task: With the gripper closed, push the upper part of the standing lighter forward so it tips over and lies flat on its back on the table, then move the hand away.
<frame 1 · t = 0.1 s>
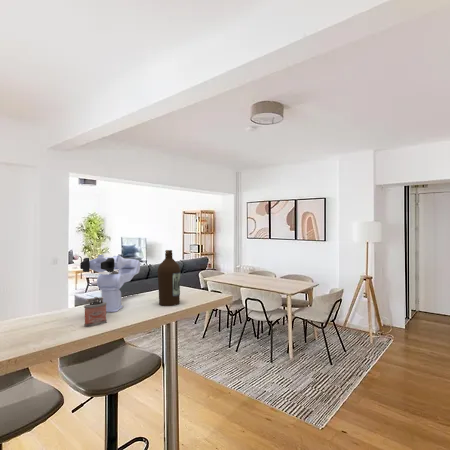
hand: (91, 265, 120), 22 cm above the table, tool horizontal, fingers open, 7 cm apart
olive oil: (169, 304, 148), on the table
lighter: (95, 324, 118), on the table
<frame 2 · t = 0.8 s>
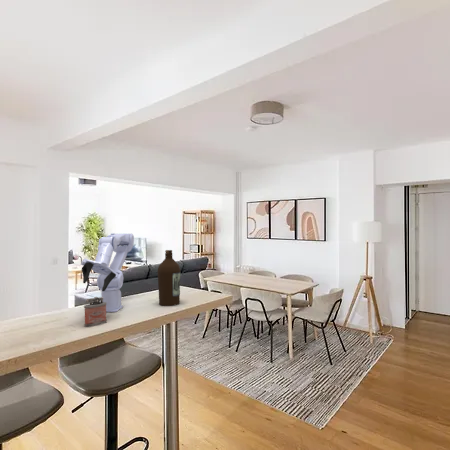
hand: (94, 285, 119), 14 cm above the table, tool tilted 50°, fingers open, 7 cm apart
nothing on the table moved.
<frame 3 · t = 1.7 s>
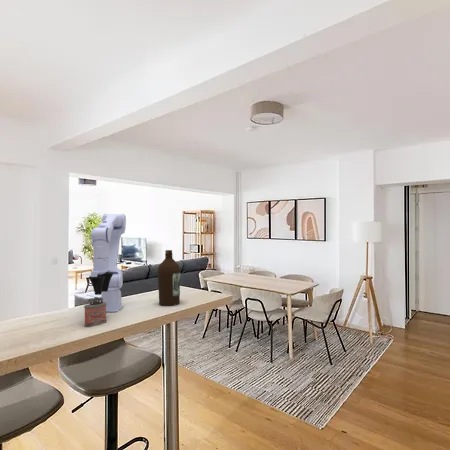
hand: (101, 293, 124), 10 cm above the table, tool pointing down, fingers open, 6 cm apart
nothing on the table moved.
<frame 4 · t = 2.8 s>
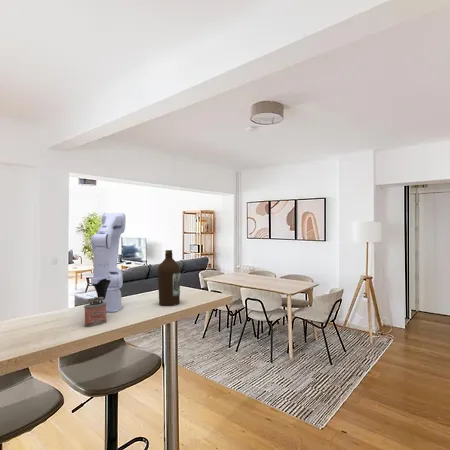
hand: (101, 299, 124), 8 cm above the table, tool pointing down, fingers closed
nothing on the table moved.
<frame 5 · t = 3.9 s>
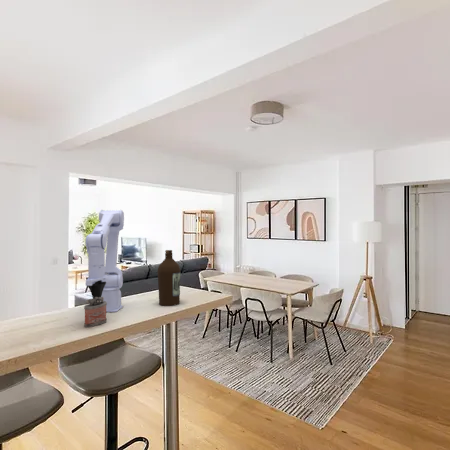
hand: (97, 301, 119), 8 cm above the table, tool pointing down, fingers closed, pressing on lighter
lighter: (95, 323, 118), on the table, touching gripper
everything else where it was.
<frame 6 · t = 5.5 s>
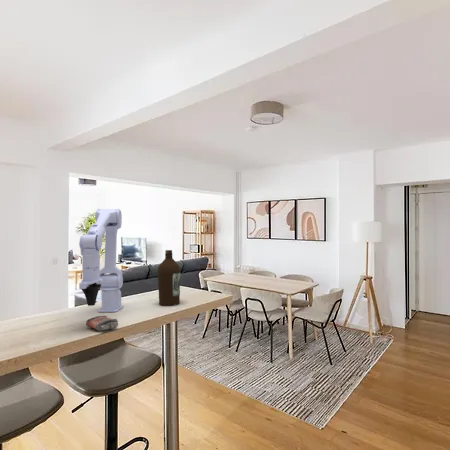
hand: (91, 305, 115), 8 cm above the table, tool pointing down, fingers closed
lighter: (96, 321, 116), point 2 cm above the table
everything else where it was.
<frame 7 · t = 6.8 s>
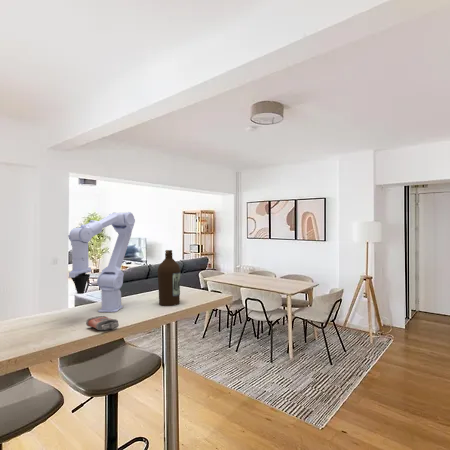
hand: (80, 293, 124), 10 cm above the table, tool pointing down, fingers closed
nothing on the table moved.
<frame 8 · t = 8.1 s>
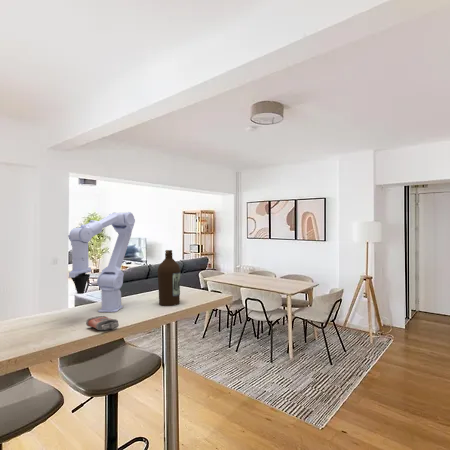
hand: (80, 293, 124), 10 cm above the table, tool pointing down, fingers closed
nothing on the table moved.
at the end: lighter tilted 90°; lighter inside the target area (2.5 cm from its centre), point 1.7 cm above the table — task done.
